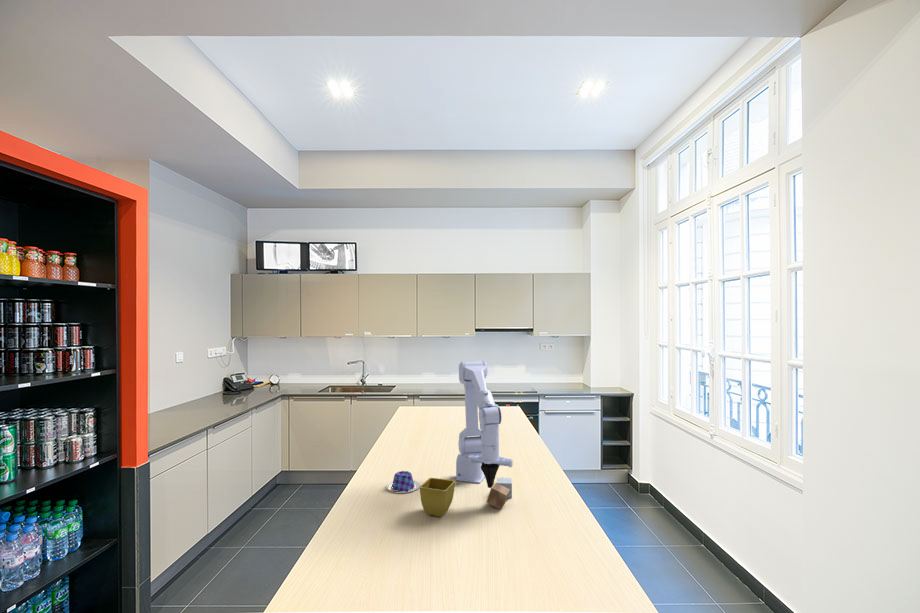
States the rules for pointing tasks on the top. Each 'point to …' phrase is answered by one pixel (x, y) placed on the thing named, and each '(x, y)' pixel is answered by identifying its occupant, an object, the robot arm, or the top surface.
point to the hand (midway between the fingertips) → (490, 486)
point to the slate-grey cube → (506, 484)
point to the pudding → (403, 482)
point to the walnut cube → (498, 495)
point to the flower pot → (437, 496)
